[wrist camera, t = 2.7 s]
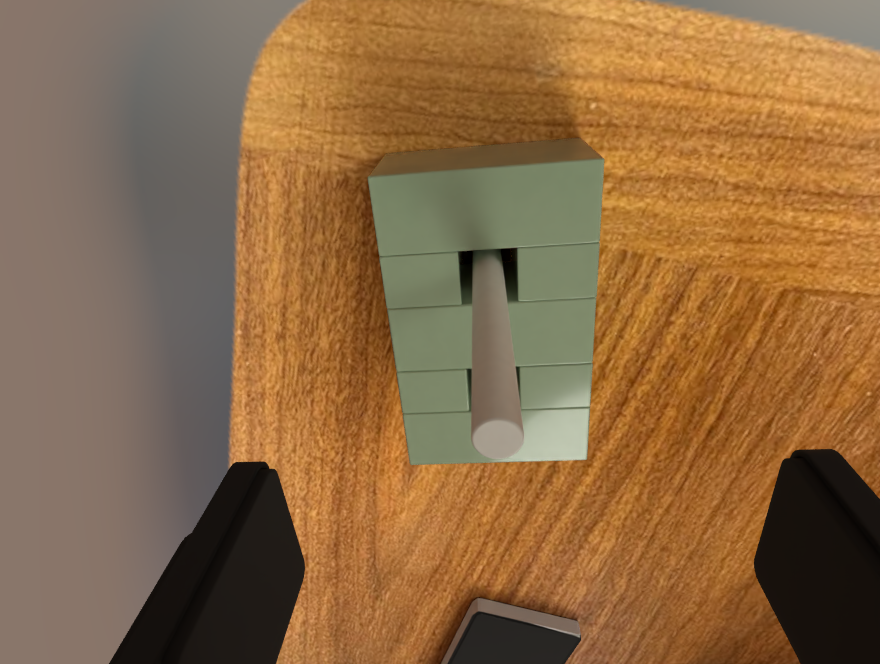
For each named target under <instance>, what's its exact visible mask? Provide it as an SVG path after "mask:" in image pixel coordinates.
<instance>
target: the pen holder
mask: <svg viewBox="0 0 880 664" xmlns="http://www.w3.org/2000/svg"><path fill="white" fill-rule="evenodd" d="M603 174H604V158H603V157H602V156H600V155H599V154H598V153H597V152H596V151H595V150H594V149H593V148H591V147H590V146H589V145H588V144H587V143H586V142H585V141H584V140H582V139H581V138H570V139H557V140H545V141H533V142H520V143H508V144H496V145H483V146H471V147H459V148H446V149H434V150H422V151H409V152H397V153H386V154H385V155H384V156H383V158H382V159H381V160H380V162H379V163H378V164H377V166H376V167H375V168H374V169H373V171H372V172H371V173H370V175H369V176H368V185H369V192H370V199H371V205H372V212H373V219H374V226H375V232H376V239H377V246H378V253H379V256H380V257H379V260H380V267H381V273H382V280H383V287H384V293H385V300H386V307H387V308H388V309H387V312H388V319H389V326H390V333H391V339H392V346H393V353H394V360H395V366H396V370H397V380H398V387H399V394H400V400H401V407H402V412H403V421H404V428H405V434H406V441H407V448H408V455H409V461H410V465H424V464H458V463H493V462H528V461H562V460H586V459H587V452H588V435H589V417H590V401H591V384H592V366H593V364H592V361H593V346H594V328H595V311H596V296H597V281H598V263H599V246H600V244H599V241H600V226H601V209H602V192H603ZM502 248H511V261H506V262H502V264H503V272H504V280H505V288H506V295H507V303H508V311H509V319H510V327H511V335H512V343H513V351H514V359H515V367H516V375H517V383H518V391H519V398H520V406H521V414H522V422H523V430H524V442H523V445H522V447H521V448H520V450H519V451H518V452H517V453H515V454H514V455H512V456H510V457H507V458H503V459H492V458H488V457H485V456H483V455H482V454H480V453H479V452H478V451H477V450H476V449H475V448H474V446H473V444H472V441H471V396H472V280H473V264H463V251H471V250H487V249H502Z"/></svg>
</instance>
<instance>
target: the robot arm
mask: <svg viewBox="0 0 880 664" xmlns="http://www.w3.org/2000/svg"><path fill="white" fill-rule="evenodd" d="M754 568H755V573H756V577H757V579H758V581H759V583H760V585H761V587H762V589H763V591H764V593H765V595H766V597H767V599H768V601H769V603H770V605H771V607H772V609H773V611H774V612H775V614H776V616H777V618H778V620H779V622H780V624H781V626H782V628H783V630H784V632H785V634H786V636H787V638H788V640H789V642H790V644H791V645H792V647H793V649H794V651H795V653H796V655H797V657H798V659H799V661H800V663H801V664H880V499H879V498H878V497H877V496H876V494H875V493H874V492H873V491H872V490H871V489H870V488H869V486H868V485H867V484H866V483H865V482H864V481H863V480H862V478H861V477H860V476H859V475H858V474H857V473H856V472H855V470H854V469H853V468H852V467H851V466H850V465H849V463H848V462H847V461H846V460H845V459H844V458H843V457H842V455H840V454H839V453H838V452H837V451H835V450H833V449H815V450H795V451H794V452H793V453H792V455H791V457H790V458H787V459H784V460H783V461H782V464H781V467H780V470H779V474H778V477H777V481H776V484H775V488H774V491H773V495H772V498H771V502H770V505H769V509H768V513H767V516H766V520H765V523H764V527H763V530H762V534H761V537H760V541H759V544H758V548H757V551H756V555H755V559H754ZM304 573H305V563H304V558H303V555H302V552H301V548H300V545H299V542H298V539H297V535H296V532H295V529H294V525H293V522H292V519H291V516H290V512H289V509H288V506H287V503H286V499H285V496H284V493H283V489H282V486H281V483H280V480H279V476H278V473H277V471H276V470H275V469H269V466H268V464H267V463H266V462H236V463H234V464H233V465H232V466H231V467H230V469H229V470H228V472H227V474H226V475H225V477H224V479H223V480H222V482H221V484H220V486H219V488H218V489H217V491H216V492H215V494H214V496H213V498H212V500H211V501H210V503H209V505H208V506H207V508H206V510H205V511H204V513H203V515H202V517H201V518H200V520H199V522H198V523H197V525H196V527H195V528H194V530H193V532H192V533H191V534H189V535H188V536H187V537H185V538H184V540H183V541H182V542H181V544H180V545H179V547H178V549H177V551H176V552H175V554H174V555H173V557H172V559H171V560H170V562H169V564H168V566H167V567H166V569H165V570H164V572H163V574H162V575H161V577H160V579H159V580H158V582H157V584H156V586H155V587H154V589H153V591H152V592H151V594H150V596H149V597H148V599H147V601H146V602H145V604H144V606H143V607H142V609H141V611H140V613H139V614H138V616H137V617H136V619H135V621H134V623H133V624H132V626H131V628H130V629H129V631H128V633H127V635H126V636H125V638H124V639H123V641H122V643H121V644H120V646H119V648H118V650H117V651H116V653H115V654H114V656H113V658H112V660H111V661H110V663H109V664H276V662H277V659H278V655H279V652H280V649H281V646H282V643H283V640H284V637H285V634H286V631H287V628H288V625H289V622H290V619H291V616H292V613H293V610H294V607H295V603H296V600H297V597H298V594H299V591H300V588H301V585H302V582H303V578H304Z"/></svg>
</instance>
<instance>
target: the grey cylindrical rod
mask: <svg viewBox="0 0 880 664" xmlns="http://www.w3.org/2000/svg"><path fill="white" fill-rule="evenodd" d="M471 441H472V444H473V446H474V448H475V449H476V450H477V451H478V452H479V453H480V454H482V455H483V456H485V457H488V458H492V459H503V458H507V457H510V456H512V455H514V454H515V453H517V452H518V451H519V450H520V448H521V447H522V445H523V442H524V430H523V422H522V414H521V406H520V398H519V391H518V383H517V375H516V367H515V359H514V351H513V343H512V335H511V327H510V319H509V311H508V303H507V295H506V288H505V280H504V272H503V264H502V256H501V249H487V250H473V280H472V396H471Z"/></svg>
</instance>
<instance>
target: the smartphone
mask: <svg viewBox="0 0 880 664" xmlns="http://www.w3.org/2000/svg"><path fill="white" fill-rule="evenodd" d="M580 641H581V633H580V628H579V623H578V621H575V620H571V619H567V618H563V617H558V616H554V615H550V614H546V613H541V612H537V611H533V610H529V609H525V608H520V607H516V606H512V605H508V604H503V603H499V602H495V601H491V600H487V599H482V598H477V599H476V600H474V601H473V602H472V604H471V606H470V607H469V609H468V611H467V613H466V615H465V617H464V619H463V621H462V623H461V625H460V627H459V629H458V631H457V633H456V635H455V637H454V639H453V641H452V643H451V645H450V647H449V649H448V651H447V653H446V655H445V657H444V659H443V661H442V662H441V664H565V662H566V661H567V659H568V658H569V657H570V655H571V654H572V652H573V651H574V649H575V648H576V647H577V645H578V644H579V642H580Z"/></svg>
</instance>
